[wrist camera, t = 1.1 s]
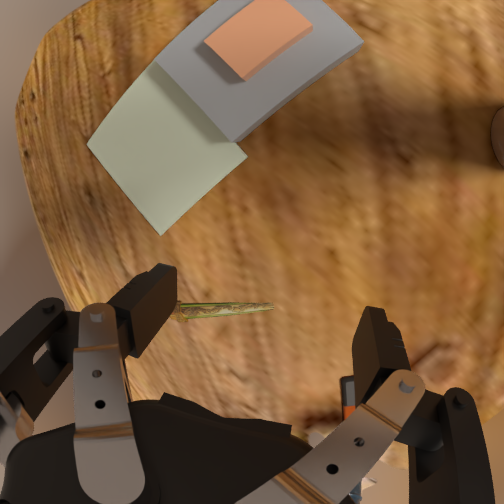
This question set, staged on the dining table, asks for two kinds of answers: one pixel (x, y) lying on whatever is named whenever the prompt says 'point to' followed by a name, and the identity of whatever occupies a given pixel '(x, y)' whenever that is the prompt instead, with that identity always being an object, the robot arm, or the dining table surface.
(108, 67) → the dining table surface
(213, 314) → the sword
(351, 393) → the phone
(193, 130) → the mat
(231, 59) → the block
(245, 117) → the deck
